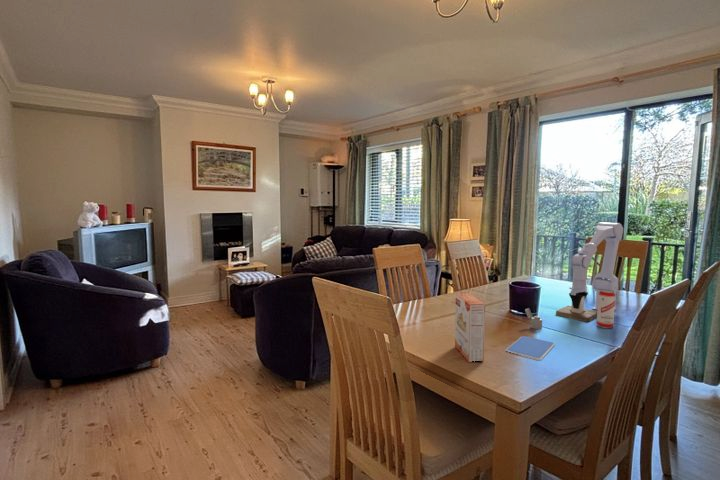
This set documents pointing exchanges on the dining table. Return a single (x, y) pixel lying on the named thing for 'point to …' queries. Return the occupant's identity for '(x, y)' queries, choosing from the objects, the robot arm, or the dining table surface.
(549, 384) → the dining table surface
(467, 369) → the dining table surface
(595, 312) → the slotted board
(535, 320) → the lighter
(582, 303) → the peg
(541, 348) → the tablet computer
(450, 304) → the dining table surface
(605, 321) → the beer can
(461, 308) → the cracker box
